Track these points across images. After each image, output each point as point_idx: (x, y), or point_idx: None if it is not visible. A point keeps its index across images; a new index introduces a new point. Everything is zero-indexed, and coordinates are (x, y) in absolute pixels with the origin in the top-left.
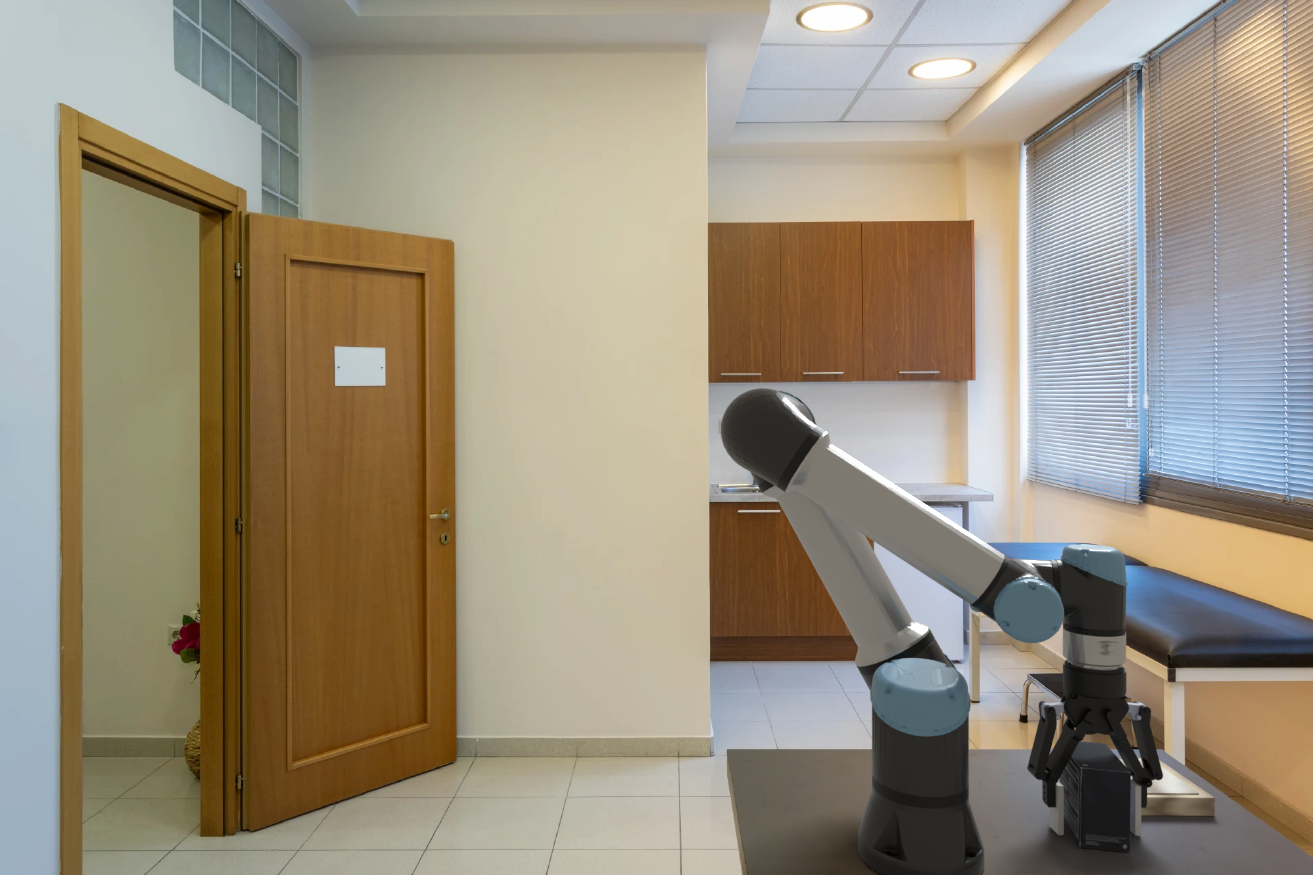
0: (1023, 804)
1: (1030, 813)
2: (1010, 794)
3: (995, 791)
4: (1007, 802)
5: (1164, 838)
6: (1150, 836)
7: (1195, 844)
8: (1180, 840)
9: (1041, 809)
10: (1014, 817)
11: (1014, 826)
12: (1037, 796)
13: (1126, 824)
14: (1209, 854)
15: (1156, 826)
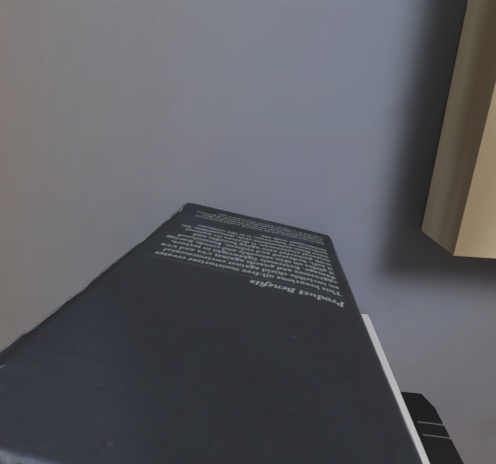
0: (87, 133)
1: (92, 204)
2: (61, 37)
3: (9, 5)
4: (36, 116)
5: (424, 375)
6: (390, 362)
7: (490, 410)
8: (464, 389)
9: (137, 175)
10: (38, 229)
11: (28, 282)
12: (160, 56)
13: None
14: (480, 453)
15: (463, 310)
